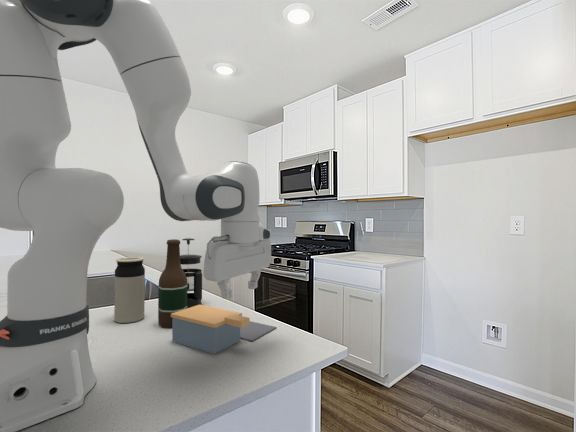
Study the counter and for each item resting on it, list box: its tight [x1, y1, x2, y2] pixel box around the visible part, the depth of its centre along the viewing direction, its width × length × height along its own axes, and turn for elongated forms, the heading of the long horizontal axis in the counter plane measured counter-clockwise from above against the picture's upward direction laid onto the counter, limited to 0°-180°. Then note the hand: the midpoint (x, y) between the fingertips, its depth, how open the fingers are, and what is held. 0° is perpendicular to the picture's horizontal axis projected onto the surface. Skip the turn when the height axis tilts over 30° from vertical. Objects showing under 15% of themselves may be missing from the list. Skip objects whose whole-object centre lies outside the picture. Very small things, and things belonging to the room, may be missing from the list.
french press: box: [180, 237, 203, 308], centre depth 109 cm, size 12×9×23 cm
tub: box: [171, 318, 241, 355], centre depth 79 cm, size 9×14×6 cm, turn 60°
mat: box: [240, 321, 277, 343], centre depth 87 cm, size 11×14×1 cm
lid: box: [171, 304, 251, 328], centre depth 78 cm, size 10×19×2 cm, turn 60°
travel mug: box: [113, 256, 146, 324], centre depth 95 cm, size 8×8×18 cm
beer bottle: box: [157, 238, 188, 329], centre depth 91 cm, size 8×8×24 cm
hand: (240, 293), depth 74 cm, fingers open, 8 cm apart
